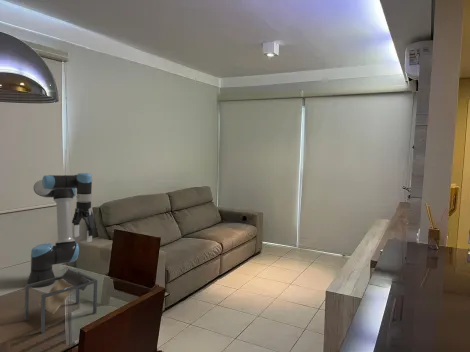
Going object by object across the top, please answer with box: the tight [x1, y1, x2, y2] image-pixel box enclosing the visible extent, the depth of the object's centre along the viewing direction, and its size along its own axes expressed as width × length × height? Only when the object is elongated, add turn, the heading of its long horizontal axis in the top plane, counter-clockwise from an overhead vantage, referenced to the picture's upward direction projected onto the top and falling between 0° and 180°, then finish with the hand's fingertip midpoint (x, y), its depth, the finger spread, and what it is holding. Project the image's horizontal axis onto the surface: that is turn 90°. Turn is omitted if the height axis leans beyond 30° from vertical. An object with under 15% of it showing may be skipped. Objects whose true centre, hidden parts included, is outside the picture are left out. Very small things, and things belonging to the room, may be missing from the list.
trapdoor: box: [38, 268, 90, 315], centre depth 177 cm, size 21×14×6 cm
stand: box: [24, 271, 98, 334], centre depth 176 cm, size 27×18×18 cm, turn 143°
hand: (82, 239), depth 195 cm, fingers open, 13 cm apart
